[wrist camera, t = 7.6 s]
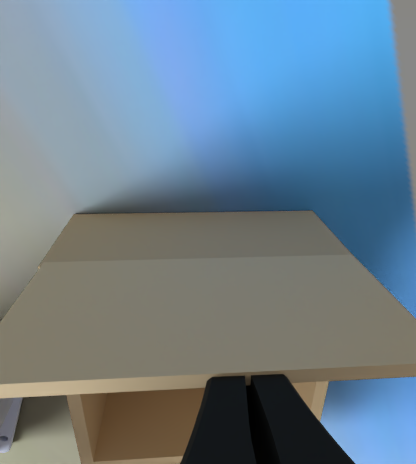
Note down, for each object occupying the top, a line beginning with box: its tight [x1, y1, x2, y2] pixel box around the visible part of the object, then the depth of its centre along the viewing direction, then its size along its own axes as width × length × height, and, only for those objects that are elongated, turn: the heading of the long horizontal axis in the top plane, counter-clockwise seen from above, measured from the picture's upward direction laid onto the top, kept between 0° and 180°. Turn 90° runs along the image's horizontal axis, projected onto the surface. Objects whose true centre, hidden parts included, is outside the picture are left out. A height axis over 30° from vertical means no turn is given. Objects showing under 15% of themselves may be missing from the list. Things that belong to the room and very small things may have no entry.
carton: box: [38, 211, 352, 464], centre depth 18 cm, size 12×12×5 cm
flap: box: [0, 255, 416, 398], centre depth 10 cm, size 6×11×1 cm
